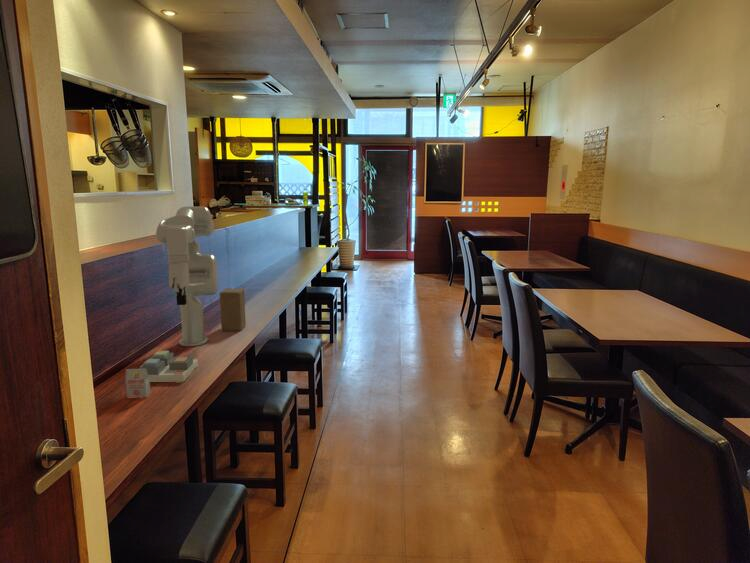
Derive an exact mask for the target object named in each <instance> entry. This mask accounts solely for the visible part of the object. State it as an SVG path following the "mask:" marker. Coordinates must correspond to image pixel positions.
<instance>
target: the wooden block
mask: <svg viewBox="0 0 750 563" xmlns="http://www.w3.org/2000/svg"><path fill="white" fill-rule="evenodd" d="M245 302H246V301H245V289H244V288H224V289H223V290H222V291H220V292H219V306H220V308H219V309H220V322H221V324H220V325H221V331H223V332H241V331H242V330H243V329H244V328H245V326H246V325H247V323H246V306H245V305H246V303H245Z"/></svg>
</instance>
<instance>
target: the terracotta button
mask: <svg viewBox="0 0 750 563" xmlns="http://www.w3.org/2000/svg"><path fill="white" fill-rule="evenodd" d="M188 359H189V358H188V357H177V358H176V359H175V360H174V361H173V362H186V361H187V360H188Z"/></svg>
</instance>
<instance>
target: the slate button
mask: <svg viewBox="0 0 750 563" xmlns="http://www.w3.org/2000/svg"><path fill="white" fill-rule="evenodd" d="M159 363H160V359H150V358H148V359H147V360H146V361H144V362H143V364H144V366H157V365H158V364H159Z"/></svg>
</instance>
